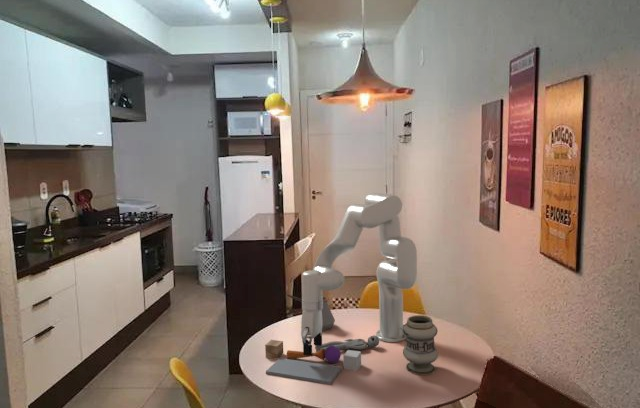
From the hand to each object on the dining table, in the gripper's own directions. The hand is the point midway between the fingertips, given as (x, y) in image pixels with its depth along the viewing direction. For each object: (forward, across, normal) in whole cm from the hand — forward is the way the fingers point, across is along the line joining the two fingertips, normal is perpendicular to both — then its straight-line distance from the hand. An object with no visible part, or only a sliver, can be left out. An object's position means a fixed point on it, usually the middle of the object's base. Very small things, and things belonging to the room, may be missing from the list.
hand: (312, 350), depth 172 cm
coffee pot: (+4, -30, -14) cm, 34 cm away
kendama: (+4, 0, 0) cm, 4 cm away
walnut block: (+4, 0, -16) cm, 16 cm away
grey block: (+4, 0, +15) cm, 16 cm away
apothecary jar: (+4, -6, +38) cm, 39 cm away
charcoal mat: (+4, +10, 0) cm, 10 cm away
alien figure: (+4, -13, +9) cm, 17 cm away
